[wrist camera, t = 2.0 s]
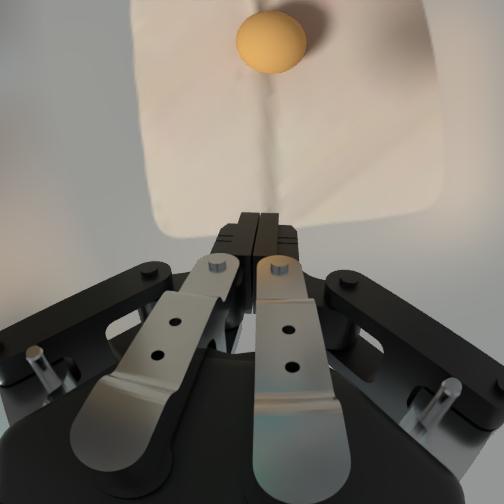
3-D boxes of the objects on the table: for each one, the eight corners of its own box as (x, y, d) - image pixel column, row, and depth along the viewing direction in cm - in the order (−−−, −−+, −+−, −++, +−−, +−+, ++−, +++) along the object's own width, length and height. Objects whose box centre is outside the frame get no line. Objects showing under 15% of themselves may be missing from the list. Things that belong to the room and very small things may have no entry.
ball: (240, 19, 20) (230, 4, 15) (304, 19, 19) (308, 4, 15) (241, 75, 22) (231, 72, 18) (304, 76, 22) (309, 73, 17)
